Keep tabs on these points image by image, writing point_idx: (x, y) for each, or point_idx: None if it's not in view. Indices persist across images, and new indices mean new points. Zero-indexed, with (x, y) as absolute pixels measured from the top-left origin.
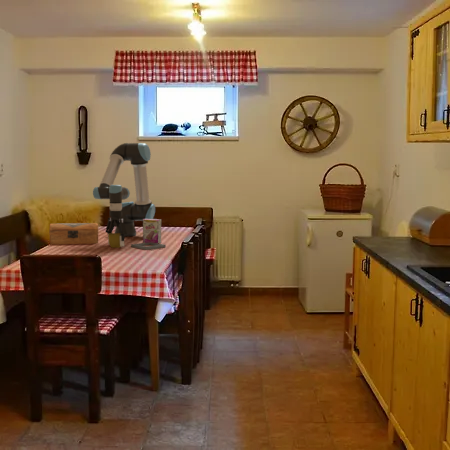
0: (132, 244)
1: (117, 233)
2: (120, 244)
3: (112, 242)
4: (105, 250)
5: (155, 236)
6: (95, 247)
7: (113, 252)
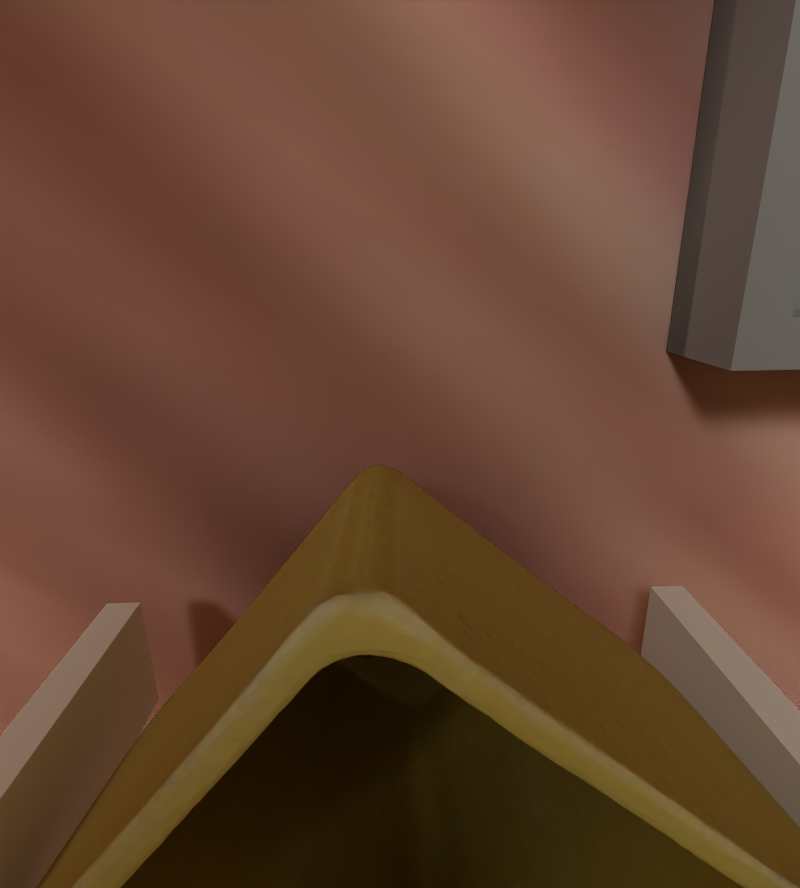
0: (782, 352)
1: (147, 853)
2: None
3: (488, 854)
4: None
5: None
6: None
7: None
